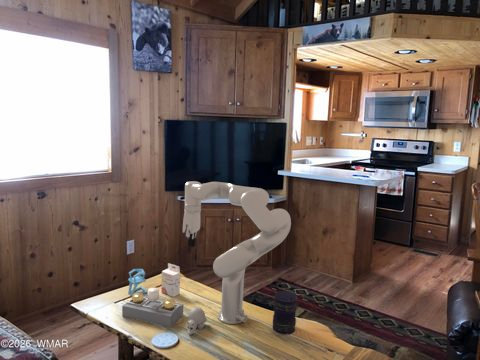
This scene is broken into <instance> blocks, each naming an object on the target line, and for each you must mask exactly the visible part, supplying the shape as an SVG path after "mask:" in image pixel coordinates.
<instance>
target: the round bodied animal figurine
mask: <svg viewBox="0 0 480 360" xmlns="http://www.w3.org/2000/svg"><path fill="white" fill-rule="evenodd" d="M187 319H188V321H186V327H187V335H190V336H191V335H193V334H194V333H195V330H196V329H197V328H198V329H201V330H202V329H204V325H205V324H204V323H206V322H207V317H206V312H205V311H204V309H202V307H200V306H199V307H197V306H196V307H193V308H191V309H190V310H189V312H188V314H187Z"/></svg>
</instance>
